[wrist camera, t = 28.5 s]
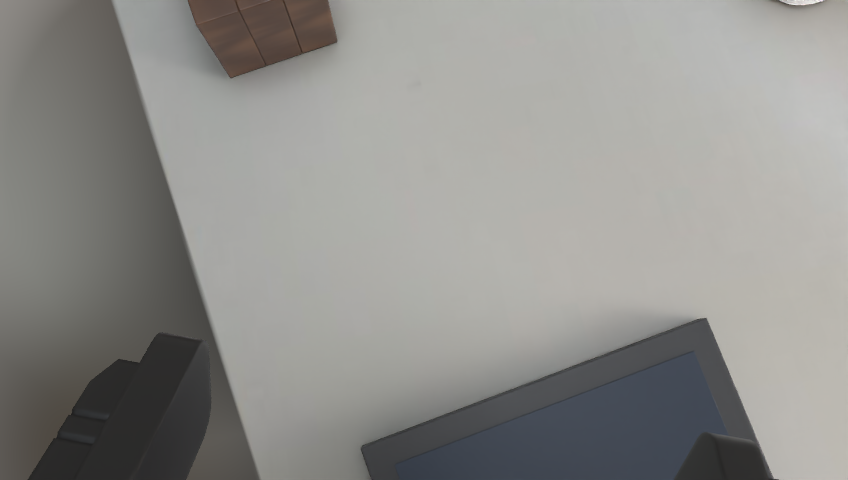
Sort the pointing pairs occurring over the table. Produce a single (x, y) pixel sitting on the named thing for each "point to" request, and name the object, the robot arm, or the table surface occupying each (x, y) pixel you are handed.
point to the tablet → (582, 420)
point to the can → (800, 2)
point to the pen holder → (262, 30)
